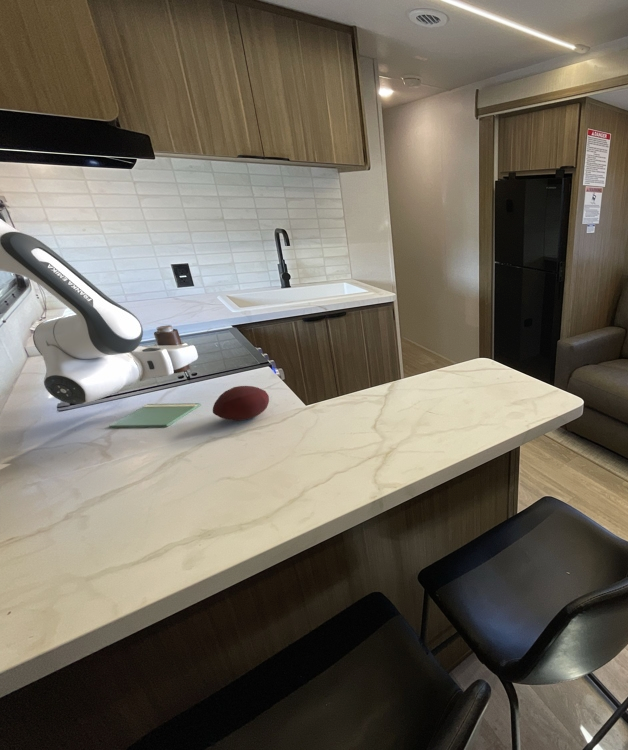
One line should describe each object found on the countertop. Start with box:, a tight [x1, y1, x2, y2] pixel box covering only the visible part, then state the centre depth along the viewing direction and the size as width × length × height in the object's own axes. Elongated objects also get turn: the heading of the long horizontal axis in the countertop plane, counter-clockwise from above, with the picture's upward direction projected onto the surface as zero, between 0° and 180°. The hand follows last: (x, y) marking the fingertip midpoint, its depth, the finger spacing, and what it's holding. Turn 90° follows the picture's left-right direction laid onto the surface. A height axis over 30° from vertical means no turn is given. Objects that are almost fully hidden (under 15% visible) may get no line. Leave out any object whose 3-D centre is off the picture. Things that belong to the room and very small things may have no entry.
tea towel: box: [108, 402, 202, 429], centre depth 103 cm, size 14×12×1 cm
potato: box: [212, 385, 270, 421], centre depth 100 cm, size 12×11×8 cm
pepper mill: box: [153, 324, 190, 374], centre depth 107 cm, size 5×5×12 cm
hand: (173, 346), depth 108 cm, fingers closed on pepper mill, 5 cm apart
